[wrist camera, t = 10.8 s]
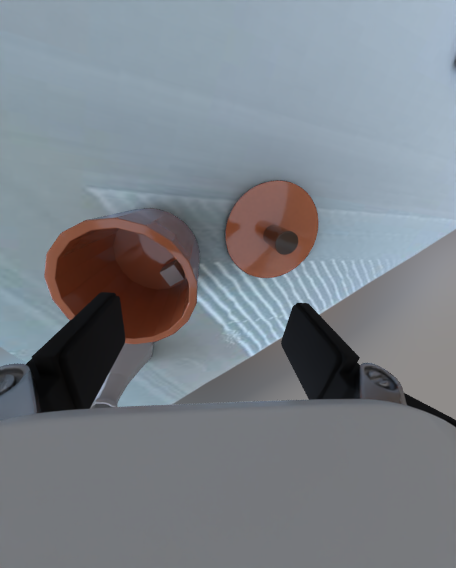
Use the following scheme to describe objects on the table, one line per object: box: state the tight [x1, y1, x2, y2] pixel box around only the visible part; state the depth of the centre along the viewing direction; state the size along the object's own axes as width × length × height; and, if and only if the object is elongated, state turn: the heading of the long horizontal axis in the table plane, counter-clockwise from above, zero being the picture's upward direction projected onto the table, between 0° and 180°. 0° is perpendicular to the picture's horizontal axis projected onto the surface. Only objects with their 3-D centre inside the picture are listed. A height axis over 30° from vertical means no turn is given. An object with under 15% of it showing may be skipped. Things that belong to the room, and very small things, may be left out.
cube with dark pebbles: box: [160, 260, 185, 286], centre depth 24 cm, size 2×2×2 cm
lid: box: [225, 180, 318, 278], centre depth 22 cm, size 12×12×6 cm
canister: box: [44, 208, 200, 344], centre depth 20 cm, size 11×12×10 cm
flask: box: [90, 342, 153, 409], centre depth 26 cm, size 7×7×10 cm
